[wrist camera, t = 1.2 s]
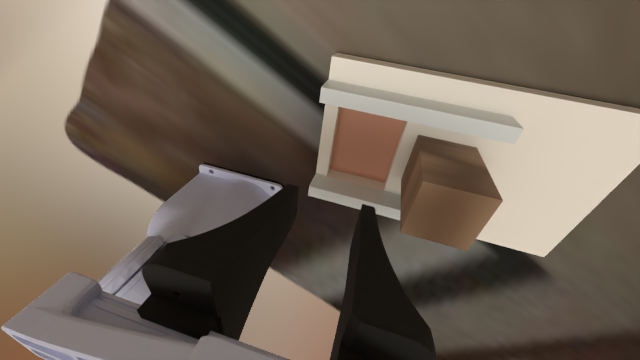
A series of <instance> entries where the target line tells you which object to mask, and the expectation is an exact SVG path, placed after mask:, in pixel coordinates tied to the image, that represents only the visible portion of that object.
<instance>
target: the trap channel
mask: <svg viewBox="0 0 640 360" xmlns="http://www.w3.org/2000/svg"><path fill="white" fill-rule="evenodd" d="M319 103H324V104H325V109H324V117H323V124H322V131H321V139H320V146H319V154H318V161H317V168H316V174H315V176H314V178H313V180H312V182H311V184H310V185H309V192H308V196H312V197H315V198H319V199H323V200H327V201H330V202H334V203H338V204H341V205H345V206H349V207H352V208H356V209H360V210H361V207H362V204H365V205H369V206H372V207H374V208H375V212H376V214H378V215H382V216H386V217H389V218H393V219H397V220H400V209H401V178H402V176H403V173H404V170H405V168H406V165H407V162H408V160H409V157H410V155H411V152H412V149H413V147H414V144H415V142H416V139H417V136H418V135H423V136H427V137H432V138H436V139H441V140H445V141H450V142H454V143H459V144H463V145H468V146H472V147H477V149H478V151H479V153H480V155H481V157H482V159H483V161H484V163H485V165H486V167H487V169H488V171H489V173H490V175H491V177H492V179H493V181H494V183H495V185H496V187H497V189H498V191H499V193H500V195H501V197H502V199H503V202H502V203H501V204H500V206H499V207H498V209H497V210H496V211H495V213H494V214H493V216H492V217H491V218H490V220H489V221H488V222H487V224H486V225H485V227H484V228H483V229H482V231H481V232H480V234H479V235H478V236H477V238H476V239H478V240H482V241H486V242H490V243H493V244H497V245H501V246H504V247H508V248H512V249H516V250H519V251H523V252H527V253H530V254H534V255H538V256H542V257H545V256H546V255H547V254H548V253H549V252H550V251H551V250H552V249H553V248H554V247H555V246H556V245H557V244H558V243H559V242H560V241H561V240H562V239H563V238H564V237H565V236H566V235H567V234H568V233H569V232H570V231H571V230H572V229H573V228H574V227H575V226H576V225H577V224H578V223H579V222H581V221H582V220H583V219H584V218H585V217H586V216H587V215H588V214H589V213H590V212H591V211H592V210H593V209H594V208H595V207H596V206H597V205H598V204H599V203H600V202H601V201H602V200H603V199H604V198H605V197H606V196H607V195H608V194H609V193H610V192H611V191H612V190H613V189H614V188H615V187H616V186H617V185H618V184H619V183H620V182H621V181H622V180H623V179H624V178H625V177H626V176H627V175H629V174H630V173H631V172H632V171H633V170H634V169H635V168H636V167H637V166H638V165H639V164H640V109H639V108H633V107H628V106H622V105H617V104H612V103H606V102H601V101H596V100H590V99H585V98H579V97H574V96H569V95H563V94H558V93H552V92H547V91H542V90H536V89H531V88H525V87H520V86H515V85H509V84H504V83H498V82H493V81H488V80H482V79H477V78H471V77H466V76H461V75H455V74H450V73H444V72H439V71H434V70H428V69H423V68H417V67H412V66H407V65H401V64H396V63H390V62H385V61H380V60H374V59H369V58H363V57H358V56H353V55H347V54H342V53H335V54H334V55H333V56H332V58H331V65H330V73H329V80H328V81H327V82H326V83H325V84H324V85H323V86H322V87H321V93H320V101H319Z"/></svg>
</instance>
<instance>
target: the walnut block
mask: <svg viewBox="0 0 640 360" xmlns="http://www.w3.org/2000/svg"><path fill="white" fill-rule="evenodd" d="M502 202H503V199H502V197H501V195H500V193H499V191H498V189H497V187H496V185H495V183H494V181H493V179H492V177H491V175H490V173H489V171H488V169H487V167H486V165H485V163H484V161H483V159H482V157H481V155H480V153H479V151H478V149H477V147H472V146H468V145H463V144H459V143H454V142H450V141H445V140H441V139H436V138H432V137H427V136H423V135H418V136H417V139H416V142H415V144H414V147H413V149H412V152H411V155H410V157H409V160H408V162H407V165H406V168H405V170H404V173H403V176H402V178H401V209H400V232H401V233H404V234H408V235H412V236H415V237H419V238H422V239H426V240H430V241H433V242H437V243H440V244H444V245H448V246H451V247H455V248H458V249H462V250H466V251H467V250H468V249H469V247H470V246H471V245H472V243H473V242H474V241H475V239H476V238H477V236H478V235H479V234H480V232H481V231H482V229H483V228H484V227H485V225H486V224H487V222H488V221H489V220H490V218H491V217H492V216H493V214H494V213H495V211H496V210H497V209H498V207H499V206H500V204H501V203H502Z"/></svg>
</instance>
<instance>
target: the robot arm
mask: <svg viewBox="0 0 640 360" xmlns="http://www.w3.org/2000/svg"><path fill="white" fill-rule="evenodd" d="M199 170H200V173H199V174H198V175H197V176H196V177H194V178H193V179H192V180H191V181H190V182H188V183H187V184H186V185H185V186H184V187H182V188H181V189H180V190H179V191H178V192H177V193H175V194H174V195H173V196H172V197H171V198H169V199H168V200H167V201H166V202H165V203H163V204H162V205H161V206H160V208H159V209H158V210H157V211H156V213H155V214H154V216H153V218H152V220H151V222H150V224H149V227H148V230H147V238H145V239H144V240H143V241H142V242H140V243H139V244H138V245H137V246H136V247H135V248H134V249H132V250H131V251H130V252H129V253H128V254H127V255H126V256H124V258H122V259H121V260H120V261H119V262H118V263H117V264H116V265H114V266H113V267H112V268H111V269H110V270H109V271H108V272H107V273H106V274H105V275H103V276H102V277H101V278H100V279H99V280H98V281H97V282H96V281H95V280H94V279H91V278H89V277H86V276H84V275H81V274H78V273H75V272H68V273H67V274H66V275H65V276H64V277H62V278H61V279H60V280H59V281H57V282H56V283H55V284H54V285H52V286H51V287H50V288H49V289H47V290H46V291H45V292H44V293H42V294H41V295H40V296H39V297H38V298H36V299H35V300H34V301H33V302H31V303H30V304H29V305H28V306H26V307H25V308H24V309H23V310H21V311H20V312H19V313H18V314H16V315H15V316H14V317H13V318H12V319H10V320H9V321H8V322H7V323H5V324H4V325H3V326H2V330H3V331H5V332H6V333H7V334H9V335H10V336H11V337H13V338H14V339H15V340H17V341H18V342H19V343H21V344H22V345H23V346H25V347H26V348H27V349H29V350H30V351H31V352H33V353H34V354H35V355H37V356H39V357H41V358H43V359H46V360H289V359H286V358H283V357H281V356H278V355H275V354H273V353H270V352H267V351H264V350H262V349H259V348H256V347H253V346H251V345H248V344H245V343H243V342H240V341H238V340H239V338H240V335H241V332H242V330H243V327H244V325H245V322H246V320H247V317H248V315H249V312H250V310H251V307H252V305H253V302H254V300H255V298H256V295H257V293H258V291H259V288H260V286H261V283H262V281H263V279H264V276H265V274H266V272H267V270H268V268H269V266H270V264H271V262H272V260H273V259H274V257H275V255H276V253H277V252H278V250H279V248H280V246H281V245H282V243H283V241H284V239H285V238H286V236H287V234H288V232H289V230H290V228H291V226H292V223H293V221H294V218H295V216H296V211H297V200H298V189H299V187H297V186H294V185H290V184H287V185H286V186H284V187H282V186H281V185H280V184H277V183H273V182H270V181H266V180H262V179H258V178H255V177H251V176H247V175H243V174H240V173H236V172H232V171H229V170H225V169H221V168H217V167H214V166H210V165H206V164H201V165H200V166H199ZM272 186H273V187H274V188H273V187H272ZM330 360H436V352H435V346H434V341H433V337H432V333H431V329H430V328H429V326H428V325H427V324H426V322H425V321H424V320H423V318H422V317H421V316H420V314H419V313H418V311H417V310H416V308H415V307H414V305H413V304H412V302H411V301H410V299H409V298H408V296H407V294H406V292H405V291H404V289H403V287H402V285H401V284H400V282H399V280H398V278H397V276H396V274H395V272H394V270H393V268H392V266H391V264H390V261H389V259H388V256H387V254H386V251H385V248H384V245H383V242H382V239H381V236H380V232H379V228H378V224H377V219H376V212H375V208H374V207H372V206H369V205H365V204H362V207H361V210H360V213H359V217H358V220H357V224H356V227H355V231H354V235H353V239H352V243H351V248H350V256H349V264H348V272H347V280H346V288H345V294H344V298H343V303H342V308H341V312H340V317H339V321H338V326H337V330H336V335H335V339H334V343H333V348H332V352H331V357H330Z"/></svg>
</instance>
